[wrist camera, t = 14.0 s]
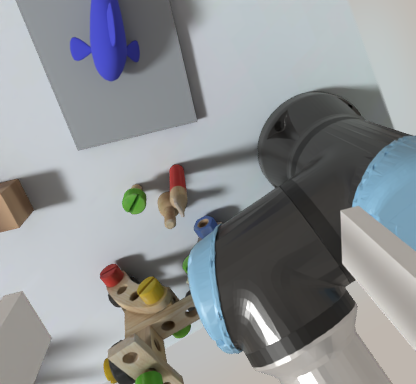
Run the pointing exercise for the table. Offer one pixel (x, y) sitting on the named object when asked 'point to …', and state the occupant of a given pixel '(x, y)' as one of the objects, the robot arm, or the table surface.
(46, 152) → the table surface
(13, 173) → the table surface
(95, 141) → the slate plate
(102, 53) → the fish toy
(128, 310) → the toy construction set
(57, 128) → the table surface
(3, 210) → the walnut block
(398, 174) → the robot arm
